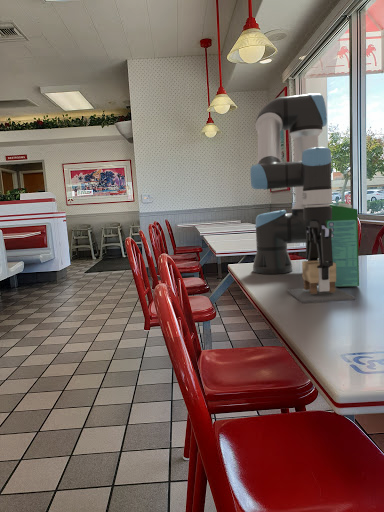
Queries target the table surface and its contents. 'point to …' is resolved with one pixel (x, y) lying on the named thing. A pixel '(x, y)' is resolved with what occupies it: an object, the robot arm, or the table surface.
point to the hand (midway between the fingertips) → (319, 288)
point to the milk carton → (345, 244)
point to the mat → (320, 295)
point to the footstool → (316, 276)
